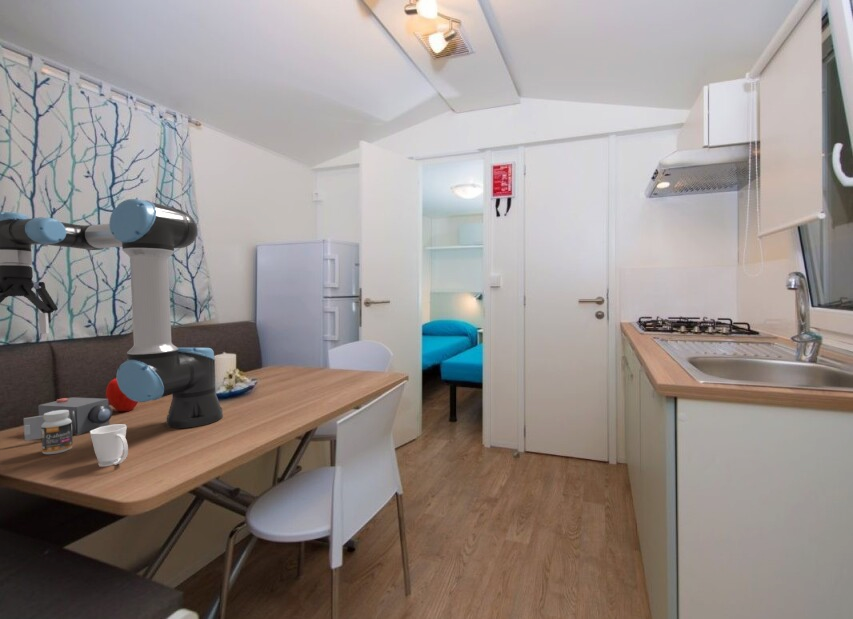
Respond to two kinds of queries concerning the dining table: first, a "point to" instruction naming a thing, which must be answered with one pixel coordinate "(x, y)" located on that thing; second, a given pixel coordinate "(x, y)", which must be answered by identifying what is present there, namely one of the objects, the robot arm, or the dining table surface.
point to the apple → (118, 397)
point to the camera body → (82, 412)
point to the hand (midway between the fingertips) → (18, 335)
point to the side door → (34, 426)
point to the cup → (110, 444)
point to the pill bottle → (56, 432)
